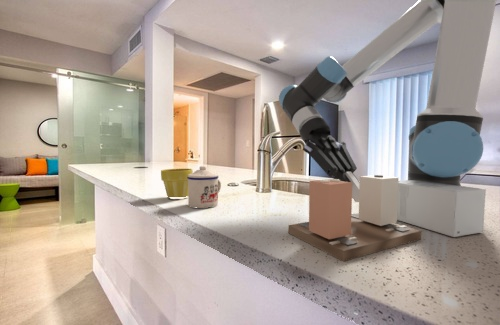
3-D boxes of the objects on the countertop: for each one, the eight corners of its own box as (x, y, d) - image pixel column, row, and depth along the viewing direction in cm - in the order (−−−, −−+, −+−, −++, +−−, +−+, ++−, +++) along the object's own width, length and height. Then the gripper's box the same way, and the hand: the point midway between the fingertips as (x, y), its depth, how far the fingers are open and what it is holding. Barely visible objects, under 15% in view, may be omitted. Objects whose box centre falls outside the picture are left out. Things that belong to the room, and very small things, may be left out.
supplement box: (413, 214, 63) (484, 234, 49) (386, 217, 61) (453, 239, 46) (415, 179, 63) (488, 188, 49) (388, 180, 60) (456, 191, 46)
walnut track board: (357, 219, 59) (358, 212, 59) (421, 239, 46) (421, 229, 46) (288, 232, 50) (288, 224, 50) (343, 261, 37) (343, 249, 37)
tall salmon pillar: (329, 226, 47) (330, 177, 47) (350, 234, 43) (352, 180, 42) (308, 230, 45) (309, 179, 44) (329, 239, 41) (330, 182, 40)
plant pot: (155, 198, 84) (154, 169, 83) (179, 194, 92) (179, 167, 92) (175, 202, 78) (174, 171, 77) (199, 197, 86) (199, 169, 86)
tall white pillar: (374, 216, 54) (375, 173, 54) (396, 222, 50) (398, 176, 49) (358, 219, 52) (359, 174, 52) (380, 225, 48) (382, 177, 47)
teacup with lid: (203, 210, 68) (202, 168, 67) (181, 206, 73) (180, 166, 72) (231, 202, 77) (230, 165, 77) (209, 199, 83) (209, 164, 82)
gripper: (322, 137, 73) (370, 204, 59) (285, 136, 68) (330, 211, 54) (336, 117, 68) (392, 185, 54) (298, 114, 62) (350, 190, 49)
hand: (361, 198), depth 54 cm, fingers closed
